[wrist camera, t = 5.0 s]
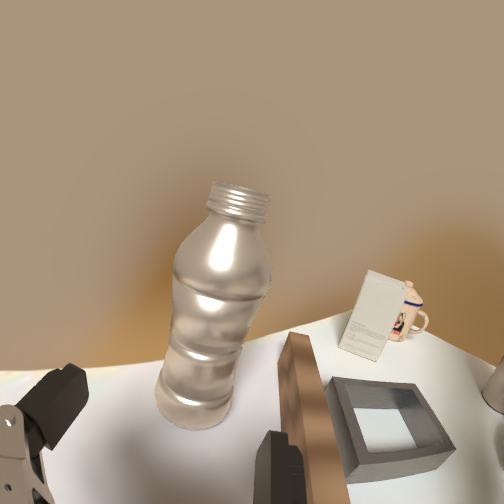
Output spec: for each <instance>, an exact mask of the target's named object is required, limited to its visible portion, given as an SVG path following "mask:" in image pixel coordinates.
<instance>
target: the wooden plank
mask: <svg viewBox="0 0 504 504" xmlns="http://www.w3.org/2000/svg"><path fill="white" fill-rule="evenodd" d="M278 379H279V396H280V414H281V432H285V433H287V434H288V442H289V445H295V446H297V447H298V448H299V450H300V452H301V453H302V455H303V463H304V466H303V468H304V473H305V474H304V476H305V484H306V495H307V504H350V499H349V494H348V489H347V485H346V480H345V476H344V471H343V467H342V463H341V458H340V454H339V450H338V445H337V441H336V437H335V433H334V429H333V425H332V421H331V417H330V413H329V409H328V405H327V401H326V397H325V394H324V390H323V386H322V382H321V378H320V375H319V371H318V367H317V364H316V360H315V356H314V353H313V349H312V346H311V342H310V338H309V336H308V335H304V334H299V333H294V332H289V334H288V337H287V340H286V342H285V345H284V348H283V350H282V353H281V355H280V358H279V360H278Z"/></svg>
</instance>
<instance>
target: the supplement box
mask: <svg viewBox="0 0 504 504" xmlns="http://www.w3.org/2000/svg"><path fill="white" fill-rule="evenodd" d="M407 294H408V292H407V289H406V286H405V283H404V282H401V281H398V280H396V279H393V278H390V277H388V276H385V275H382V274H379V273H377V272H374V271H371V270H368V272H367V274H366V276H365V278H364V281H363V284H362V287H361V290H360V292H359V295H358V298H357V301H356V303H355V306H354V308H353V311H352V314H351V316H350V318H349V321H348V323H347V326H346V328H345V331H344V333H343V335H342V338H341V340H340V343H339V346H338V347H339V348H341V349H344V350H346V351H349V352H352V353H354V354H357V355H359V356H362V357H365V358H367V359H370V360H372V361H375V362H376V361H377V359H378V358H379V356H380V354H381V352H382V350H383V348H384V346H385V344H386V342H387V340H388V337H389V335H390V333H391V331H392V329H393V327H394V325H395V322H396V320H397V318H398V316H399V313H400V311H401V309H402V306H403V304H404V301H405V299H406V297H407Z"/></svg>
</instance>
